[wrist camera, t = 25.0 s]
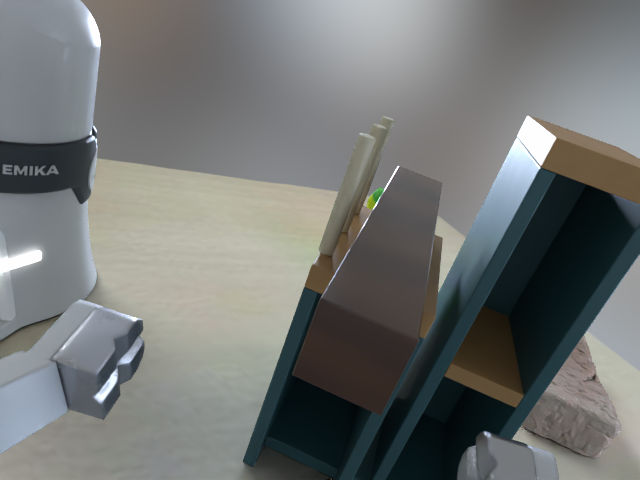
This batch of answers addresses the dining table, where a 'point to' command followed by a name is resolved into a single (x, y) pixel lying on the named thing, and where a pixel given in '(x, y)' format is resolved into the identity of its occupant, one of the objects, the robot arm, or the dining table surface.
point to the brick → (576, 407)
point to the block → (375, 298)
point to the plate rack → (468, 310)
